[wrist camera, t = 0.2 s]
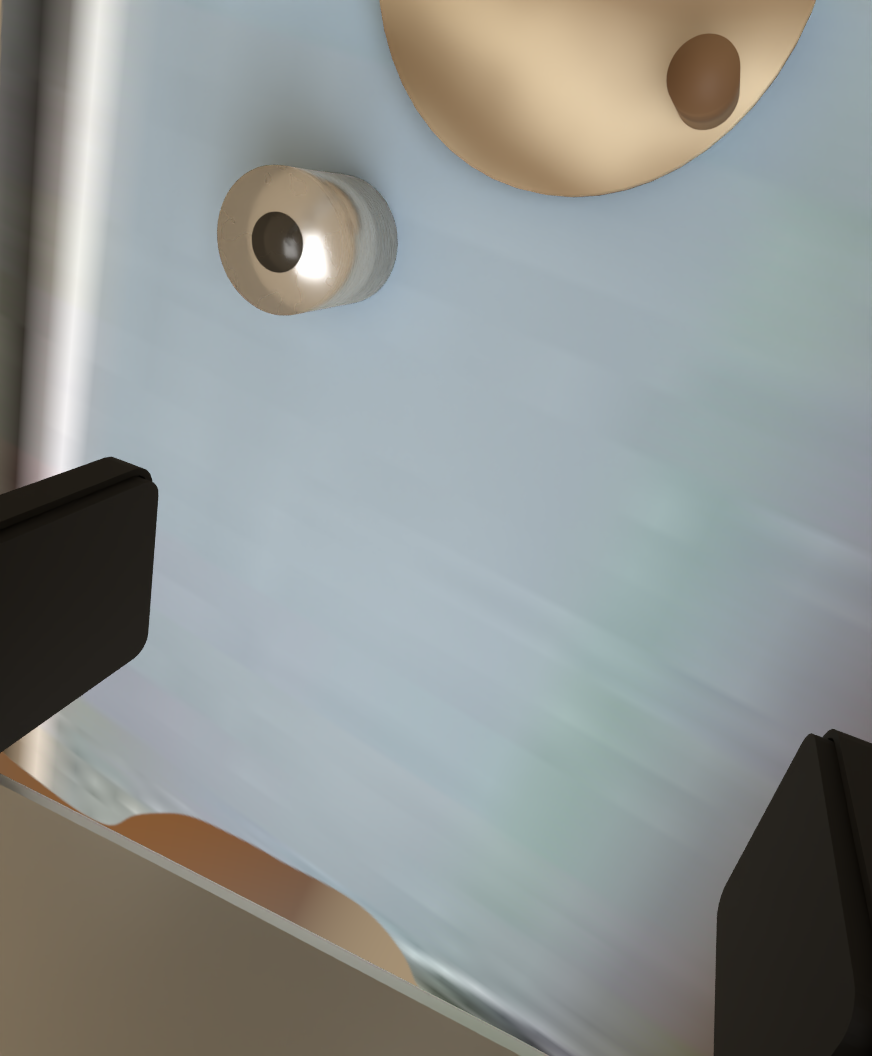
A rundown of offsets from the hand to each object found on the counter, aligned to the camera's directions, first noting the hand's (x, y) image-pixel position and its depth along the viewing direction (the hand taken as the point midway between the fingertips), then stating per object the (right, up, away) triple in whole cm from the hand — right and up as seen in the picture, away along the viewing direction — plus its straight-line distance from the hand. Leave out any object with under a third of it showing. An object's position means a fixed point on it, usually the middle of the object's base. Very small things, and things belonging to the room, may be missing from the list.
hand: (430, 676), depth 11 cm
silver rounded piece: (-5, +17, +30) cm, 35 cm away
